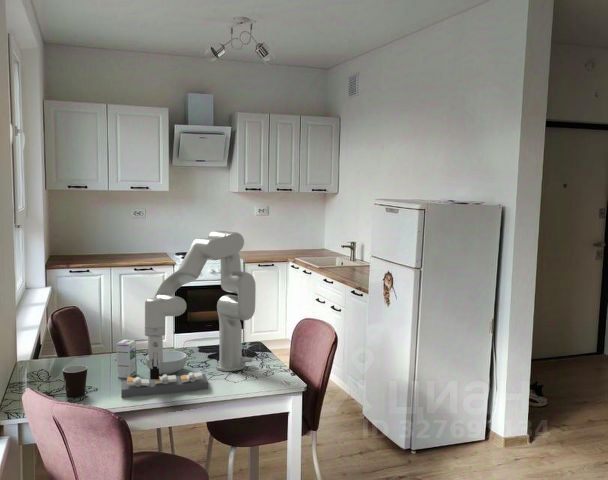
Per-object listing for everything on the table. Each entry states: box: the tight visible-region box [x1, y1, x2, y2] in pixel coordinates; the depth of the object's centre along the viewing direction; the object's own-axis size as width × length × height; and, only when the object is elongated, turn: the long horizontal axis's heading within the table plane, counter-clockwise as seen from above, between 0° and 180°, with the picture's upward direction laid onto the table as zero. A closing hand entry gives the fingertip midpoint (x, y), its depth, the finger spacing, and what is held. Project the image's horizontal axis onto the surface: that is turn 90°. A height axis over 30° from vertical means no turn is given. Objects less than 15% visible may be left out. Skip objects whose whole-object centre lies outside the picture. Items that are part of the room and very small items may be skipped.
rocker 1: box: [126, 376, 150, 387], centre depth 215 cm, size 8×4×2 cm, turn 107°
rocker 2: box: [180, 371, 203, 383], centre depth 220 cm, size 8×4×2 cm, turn 107°
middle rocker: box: [154, 374, 177, 384], centre depth 217 cm, size 8×4×2 cm, turn 107°
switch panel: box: [120, 373, 209, 399], centre depth 220 cm, size 32×10×3 cm, turn 107°
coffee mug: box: [62, 364, 88, 399], centre depth 214 cm, size 12×9×10 cm
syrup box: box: [115, 339, 138, 379], centre depth 234 cm, size 6×6×14 cm
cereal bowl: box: [145, 350, 188, 376], centre depth 240 cm, size 17×17×7 cm
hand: (154, 378), depth 216 cm, fingers closed
